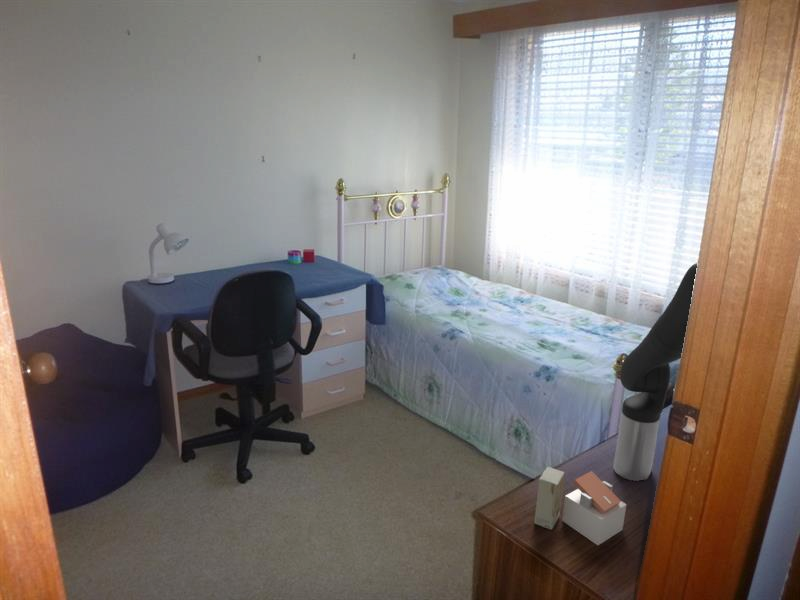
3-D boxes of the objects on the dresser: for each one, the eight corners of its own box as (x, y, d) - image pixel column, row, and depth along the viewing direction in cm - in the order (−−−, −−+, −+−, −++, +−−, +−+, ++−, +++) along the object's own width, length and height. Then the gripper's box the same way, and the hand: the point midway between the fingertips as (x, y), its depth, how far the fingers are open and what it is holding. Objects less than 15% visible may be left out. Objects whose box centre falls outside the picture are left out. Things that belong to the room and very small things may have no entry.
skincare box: (551, 530, 136) (557, 485, 132) (533, 524, 138) (538, 479, 134) (560, 515, 141) (565, 471, 137) (542, 508, 144) (547, 465, 140)
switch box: (586, 506, 144) (591, 472, 141) (622, 529, 137) (628, 494, 134) (562, 520, 139) (566, 485, 136) (597, 545, 132) (603, 508, 129)
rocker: (587, 476, 141) (591, 470, 139) (616, 507, 135) (621, 500, 134) (571, 485, 137) (575, 479, 136) (600, 517, 132) (604, 510, 130)
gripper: (739, 431, 112) (672, 459, 126) (701, 457, 105) (634, 483, 119) (765, 468, 110) (693, 492, 123) (728, 497, 103) (656, 519, 116)
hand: (664, 487), depth 121 cm, fingers closed
